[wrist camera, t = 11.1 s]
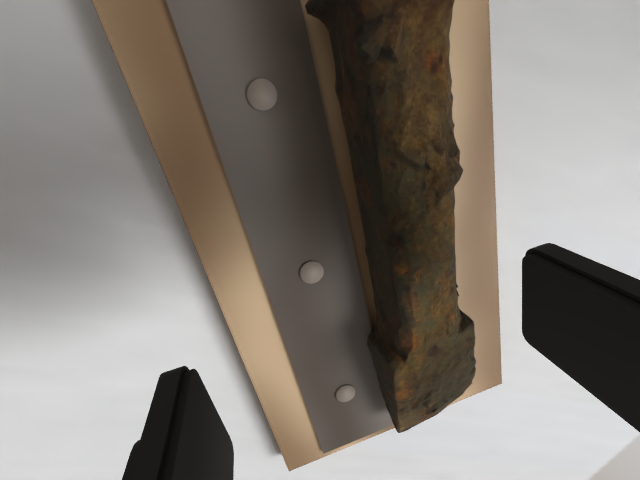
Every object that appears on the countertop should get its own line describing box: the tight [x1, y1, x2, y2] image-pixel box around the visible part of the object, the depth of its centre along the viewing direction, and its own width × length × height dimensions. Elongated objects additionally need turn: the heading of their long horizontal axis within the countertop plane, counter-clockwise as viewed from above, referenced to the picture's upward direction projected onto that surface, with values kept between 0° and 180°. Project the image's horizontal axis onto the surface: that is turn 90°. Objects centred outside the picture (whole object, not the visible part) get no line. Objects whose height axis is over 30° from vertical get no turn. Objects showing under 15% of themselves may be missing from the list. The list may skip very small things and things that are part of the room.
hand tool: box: [305, 0, 476, 433], centre depth 13 cm, size 19×4×5 cm
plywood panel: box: [92, 0, 502, 471], centre depth 15 cm, size 13×22×1 cm, turn 14°
